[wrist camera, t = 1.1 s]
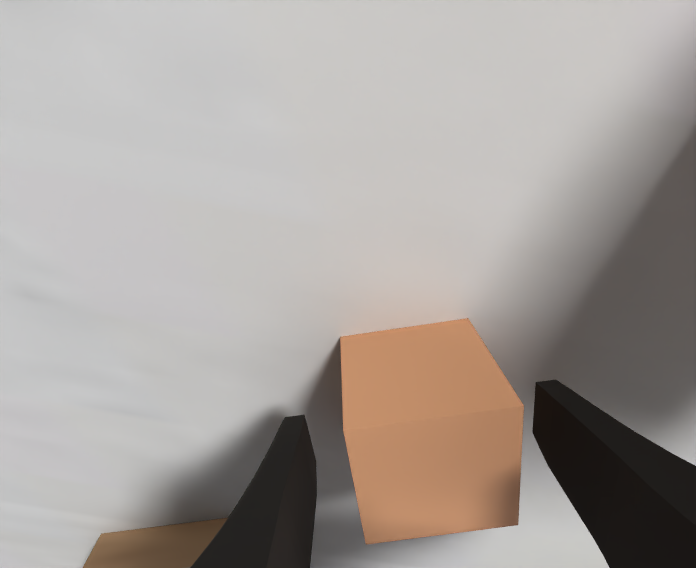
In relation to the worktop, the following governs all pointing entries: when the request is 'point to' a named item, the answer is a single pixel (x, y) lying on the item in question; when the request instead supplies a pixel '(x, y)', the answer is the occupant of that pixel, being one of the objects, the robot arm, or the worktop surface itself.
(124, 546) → the walnut slab
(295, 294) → the worktop surface
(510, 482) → the terracotta cube
